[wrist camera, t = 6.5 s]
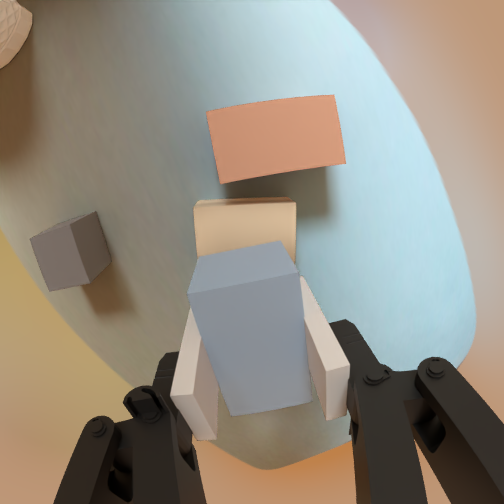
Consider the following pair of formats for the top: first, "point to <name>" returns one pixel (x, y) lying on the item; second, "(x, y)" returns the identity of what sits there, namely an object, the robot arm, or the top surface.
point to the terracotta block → (275, 137)
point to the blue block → (253, 327)
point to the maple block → (244, 224)
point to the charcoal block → (71, 252)
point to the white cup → (12, 29)
